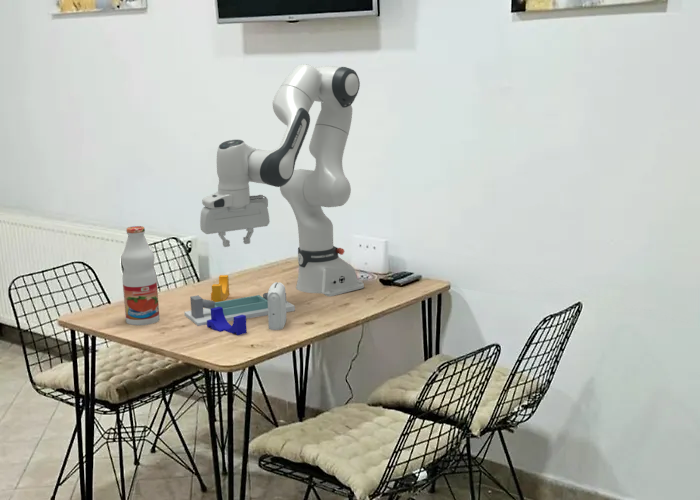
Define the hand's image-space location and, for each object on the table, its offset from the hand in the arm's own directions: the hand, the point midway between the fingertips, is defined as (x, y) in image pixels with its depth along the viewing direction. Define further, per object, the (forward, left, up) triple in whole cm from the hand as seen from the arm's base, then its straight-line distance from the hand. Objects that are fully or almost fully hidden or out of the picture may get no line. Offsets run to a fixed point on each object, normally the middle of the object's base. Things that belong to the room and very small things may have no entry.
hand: (236, 244), depth 243 cm
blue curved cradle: (+9, +14, -21) cm, 27 cm away
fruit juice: (+27, -7, -21) cm, 35 cm away
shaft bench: (0, 0, -21) cm, 21 cm away
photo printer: (-5, +16, -21) cm, 27 cm away
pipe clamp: (+1, -16, -21) cm, 27 cm away
